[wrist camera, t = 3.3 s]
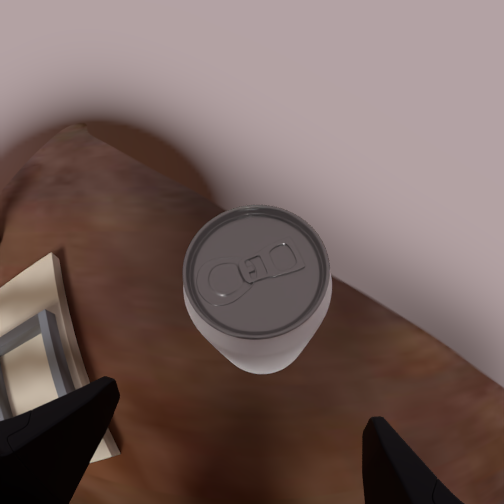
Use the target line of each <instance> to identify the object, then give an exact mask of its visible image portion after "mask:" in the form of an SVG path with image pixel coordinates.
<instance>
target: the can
mask: <svg viewBox="0 0 504 504" xmlns="http://www.w3.org/2000/svg"><path fill="white" fill-rule="evenodd" d="M183 293H184V300H185V304H186V308H187V311H188V313H189V315H190V317H191V319H192V321H193V323H194V325H195V326H196V327H197V329H198V330H199V331H200V333H201V334H202V335H203V336H204V337H205V338H206V339H207V340H208V341H209V342H210V343H211V344H212V345H213V346H214V347H215V348H216V349H217V350H218V351H219V352H220V353H221V354H223V355H224V356H225V357H226V358H227V359H228V360H229V361H230V362H232V363H233V364H234V365H236V366H237V367H239V368H240V369H242V370H244V371H247V372H250V373H255V374H269V373H274V372H277V371H279V370H282V369H284V368H285V367H287V366H288V365H290V364H291V363H292V362H293V361H294V360H295V359H296V358H297V357H298V356H299V354H300V353H301V352H302V350H303V349H304V348H305V346H306V345H307V344H308V342H309V341H310V339H311V338H312V336H313V335H314V334H315V332H316V331H317V329H318V328H319V326H320V324H321V323H322V321H323V319H324V317H325V315H326V313H327V310H328V307H329V304H330V299H331V294H332V278H331V272H330V265H329V258H328V254H327V251H326V248H325V246H324V244H323V242H322V240H321V239H320V237H319V235H318V234H317V233H316V231H315V230H314V229H313V228H312V227H311V226H310V225H309V224H308V223H307V222H306V221H304V220H303V219H302V218H300V217H299V216H297V215H295V214H293V213H291V212H289V211H287V210H284V209H281V208H277V207H273V206H267V205H249V206H242V207H237V208H234V209H231V210H228V211H226V212H223V213H221V214H219V215H218V216H216V217H214V218H213V219H211V220H210V221H209V222H208V223H206V224H205V225H204V226H203V227H202V228H201V229H200V230H199V231H198V233H197V234H196V235H195V237H194V238H193V240H192V241H191V243H190V245H189V247H188V249H187V252H186V255H185V258H184V263H183Z"/></svg>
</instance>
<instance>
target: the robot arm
mask: <svg viewBox="0 0 504 504" xmlns="http://www.w3.org/2000/svg"><path fill="white" fill-rule="evenodd" d="M119 398H120V394H119V390H118V387H117V383H116V381H115V379H113V378H110V377H107V376H104V377H102V378H100V379H98V380H95V381H93V382H91V383H89V384H87V385H85V386H83V387H81V388H78V389H76V390H74V391H72V392H70V393H68V394H66V395H63V396H61V397H59V398H57V399H54V400H52V401H50V402H48V403H46V404H43V405H41V406H39V407H36V408H34V409H32V410H29V411H27V412H25V413H22V414H20V415H17V416H15V417H12V418H8V419H5V420H2V421H0V504H69V502H70V500H71V498H72V496H73V494H74V492H75V490H76V488H77V486H78V484H79V482H80V480H81V478H82V476H83V474H84V473H85V471H86V469H87V467H88V465H89V463H90V461H91V459H92V457H93V455H94V454H95V452H96V450H97V448H98V446H99V444H100V442H101V440H102V439H103V437H104V435H105V433H106V431H107V429H108V426H109V424H110V421H111V419H112V416H113V414H114V411H115V409H116V406H117V404H118V402H119ZM362 476H363V487H364V498H365V504H464V503H463V502H462V501H460V500H459V499H458V498H457V497H456V496H455V495H454V494H453V493H451V491H450V490H449V489H448V488H447V487H446V486H445V485H444V484H443V483H442V482H441V481H440V480H439V479H437V477H436V476H435V475H434V473H433V472H432V471H431V470H430V469H429V468H428V467H427V466H426V465H425V463H424V462H423V461H422V460H421V459H420V458H419V457H418V456H417V455H416V453H415V452H414V451H413V450H412V449H411V448H410V447H409V446H408V445H407V443H406V442H405V441H404V440H403V439H402V438H401V437H400V436H399V435H398V433H397V432H396V431H395V430H394V429H393V428H392V427H391V426H390V424H389V423H388V422H387V421H386V420H385V419H384V418H383V417H380V416H379V417H371V418H370V419H369V421H368V423H367V425H366V427H365V429H364V431H363V436H362Z"/></svg>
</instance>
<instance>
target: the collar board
mask: <svg viewBox="0 0 504 504" xmlns="http://www.w3.org/2000/svg"><path fill="white" fill-rule="evenodd" d="M89 383H90V381H89V378H88V375H87V373H86V370H85V367H84V363H83V360H82V357H81V354H80V351H79V347H78V344H77V340H76V337H75V333H74V329H73V325H72V321H71V317H70V313H69V309H68V304H67V299H66V295H65V290H64V284H63V279H62V273H61V267H60V261H59V258H57V257H56V256H55V255H54V254H53V253H52V252H51V253H50V254H48V255H47V256H45V257H44V258H42V259H41V260H39V261H38V262H36V263H35V264H33V265H32V266H30V267H29V268H27V269H26V270H24V271H23V272H22V273H20V274H19V275H17V276H16V277H15V278H13V279H12V280H10V281H9V282H8V283H6V284H5V285H4V286H2V287H1V288H0V421H2V420H5V419H8V418H12V417H15V416H17V415H20V414H22V413H25V412H27V411H29V410H32V409H34V408H36V407H39V406H41V405H43V404H46V403H48V402H50V401H52V400H54V399H57V398H59V397H61V396H63V395H66V394H68V393H70V392H72V391H74V390H76V389H78V388H81V387H83V386H85V385H87V384H89ZM119 454H120V452H119V450H118V448H117V446H116V443H115V441H114V439H113V437H112V435H111V433H110V431H109V429H107V431H106V433H105V435H104V437H103V439H102V440H101V442H100V444H99V446H98V448H97V450H96V452H95V454H94V455H93V457H92V459H91V461H90V463H92V462H96V461H99V460H103V459H106V458H109V457H113V456H116V455H119Z"/></svg>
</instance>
